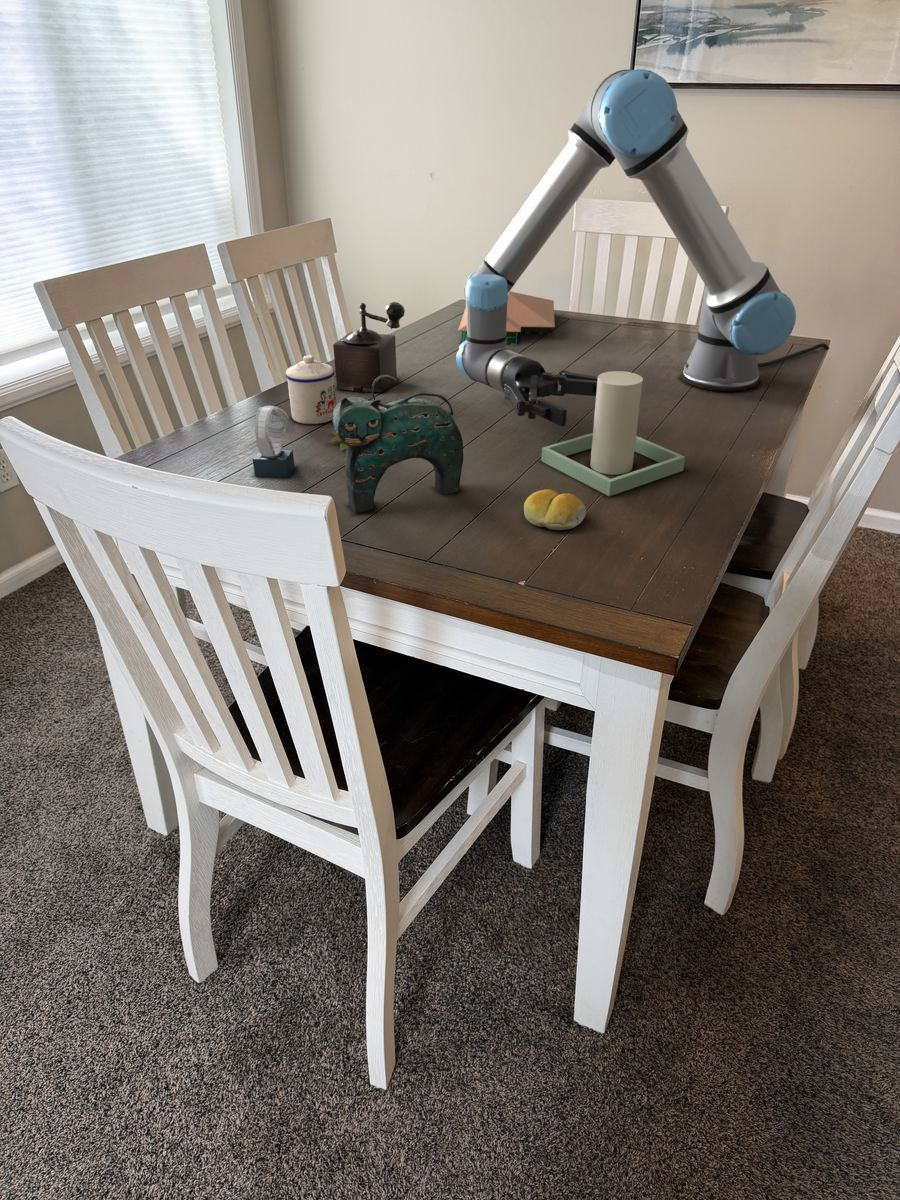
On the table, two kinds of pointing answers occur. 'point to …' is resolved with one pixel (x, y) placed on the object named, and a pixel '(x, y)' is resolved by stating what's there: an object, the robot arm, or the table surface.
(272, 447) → the watch
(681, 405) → the table surface
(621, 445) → the pillar candle
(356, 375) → the manual coffee grinder
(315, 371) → the teacup with lid
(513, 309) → the house
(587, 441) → the green square frame
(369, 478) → the ceramic cat
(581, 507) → the bread roll
